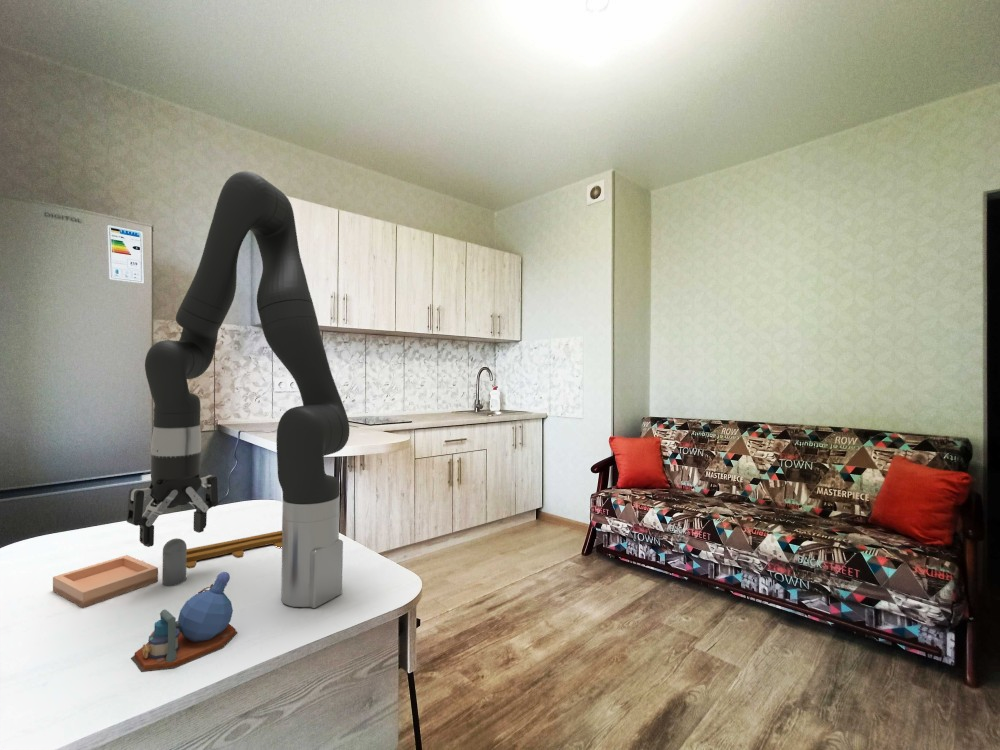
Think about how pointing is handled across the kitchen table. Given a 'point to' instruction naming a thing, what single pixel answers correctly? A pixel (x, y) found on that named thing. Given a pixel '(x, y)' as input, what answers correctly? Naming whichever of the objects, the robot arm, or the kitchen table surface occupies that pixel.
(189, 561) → the decorative fence
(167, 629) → the model
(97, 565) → the dish
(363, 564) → the kitchen table surface
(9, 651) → the kitchen table surface
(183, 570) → the plug
